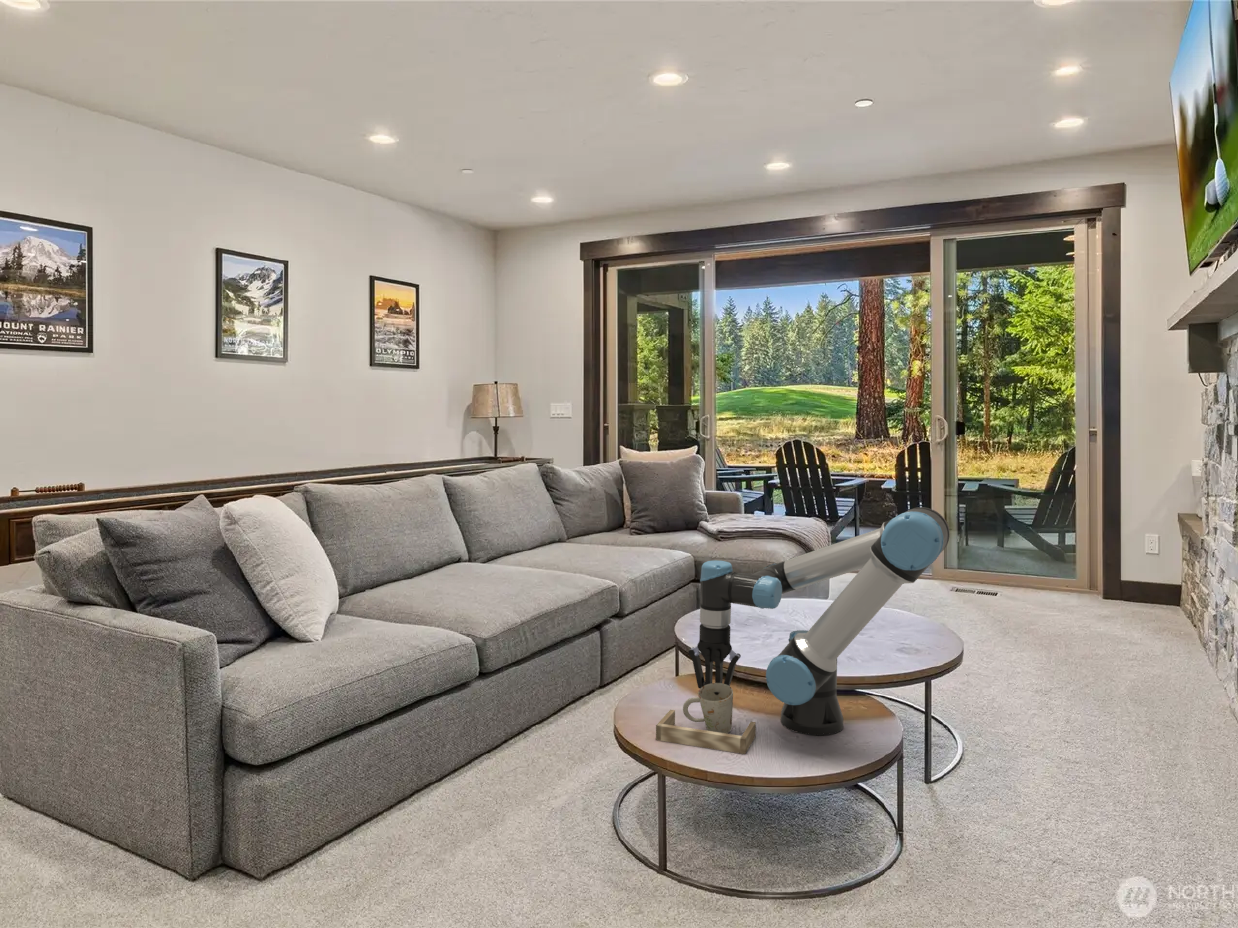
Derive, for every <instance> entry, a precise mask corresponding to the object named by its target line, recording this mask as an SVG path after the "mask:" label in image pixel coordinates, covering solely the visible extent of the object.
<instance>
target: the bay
mask: <svg viewBox="0 0 1238 928" xmlns="http://www.w3.org/2000/svg"><path fill="white" fill-rule="evenodd" d="M756 726H757V722H756V721H752V720H751V721H750V722H749V724H748V725H747V727H746V728H745V730H744V732H743V733H742V735H739V734H732V733H727V734H726V733H719V732H713V731H707V729H706V730H705V729H700V728H699V729H698V728H693V727H692V728H691V727H686V726H679V725H676V709H675V710H674V709H670V710H668V712H667V713H666V714H665V715H664V716H663V717H662V718H661V719H660V720H659V721H658V723H657V724H656V725H655V741H661V742H666V743H673V744H679V745H686V746H692V747H698V748H702V749H703V748H704V749H711V750H716V751H717V750H718V751H722V752H730V753H736V754H742V755H746V754H747V751H748V750H749V749H750V747H751V745H752V743H753V741H754V740H755V738H756V736H757V734H756V732H757V731H756V728H757V727H756Z"/></svg>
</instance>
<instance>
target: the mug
mask: <svg viewBox="0 0 1238 928" xmlns="http://www.w3.org/2000/svg"><path fill="white" fill-rule="evenodd" d="M714 692H718V693H719V694H718V695H715V694H714ZM697 695H698V696H697V697H696V696H695V697H690V698H688V699H686V700H685V701H684V703H683V706H682V713H683V715H684V716H685V718H686V719H687V720H689V721H691V722H694V723H703V722H705V727H706V731H713V732H719V733H726V734H729V733H730V732H731V730H732V729H733V708H734V707H733V705H734V690H733V688H732V687H731V685H730V686H728V685H726V684H724V682H722V683H715V682H712V683H711V684H707V685H705V686H703V687H702V688H700V689H699V690H698V693H697ZM693 703H699V704H700V708H701V711H702V715H703V717H701V718H696V717H693V716H692V715H691V714H690V713H689V707H690V705H691V704H693Z"/></svg>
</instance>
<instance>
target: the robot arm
mask: <svg viewBox="0 0 1238 928" xmlns="http://www.w3.org/2000/svg"><path fill="white" fill-rule="evenodd" d="M949 527H950V526H949V524H948V522H947V521H946V519H945V517H944V516H943V515H942V514H940V513H939V512H938V511H936V510H935V509H932V508H929V507H926V506H925V507H924V506H920V507H919V506H918V507H914V508H911V509H908V510H906V511H905V512H902V513H900V514H897V515H896V516H895V517H893V518H892V519H889V520H886V521H885V522H883V523H882V525H881V527H880V528H877V529H874V530H871V531H868V532H864V533H862V534H859V535H856V536H854V537H851V538H850V537H849V538H848V539H845V540H842V541H838V542H837V543H836V542H835V543H833V544H830V545H827V546H824V547H822V548H818V549H816V550H813V551H810V552H806V553H804V554H801V555H799V556H798V555H797V556H795V557H793V558H789V559H786V560H784V561H780V562H778V563H772V564H770V565H767V566H765V567H764V568H762V569H760V570H758V571H756V572H754V573H742V572H737V571H734V569H733V564H732V563H731V562H729V561H725V560H715V559H714V560H707V561H705V562H704V563H702V565H701V571H700V579H699V582H700V604H699V605H700V606H699V623H700V625H699V638H698V639H699V640H698V643H697V645H696V646H695V647H691V648H690V649H689V650H688V655H689V657H690V659H691V661H692V666H693V670H694V674H695V680H696V683H697V684H696V685H697V687H698V689H699V690H700V688H702V687H703V686H705V685H707V684H711V683H713V670H714V668H715V671H714V673H715V674H714V675H715V676H714V677H715V678H714V679H715V680H714V683H723V684H726V685H728V686H730V687H731V682H732V680H733V675H734V674H735V673H734V672H735V668H736V666H737V662H738V661H739V660H740V658H741V654H740V653H738V652H735V651H734V650H733V646H732V645H731V626H730V624H731V619H732V604H734V605H741V606H748V607H753V608H760V609H761V610H762V609H768V610H769V609H770V610H773V609H776V608H777V607H778V606H779V605H780V603H781V600H782V595H783V594H786V593H787V594H788V593H790V592H792V591H795V590H798V589H801V588H804V587H807V586H810V585H814V584H817V583H820V582H824V581H828V580H830V579H833V578H836V577H840V576H842V575H846V574H849V573H851V572H855V571H858V572H857V574H855V576H854V577H853V578H852V579H851V580H850V581H849V583H847V584H846V586H845V587H844V588H843V590H842V591H841V592H840V593H839V595H837V597H836V598H835V599H834V600H833V602H832V603H831V604H830V605H829V606H827V609H826V610H825V611H824V612H823V613H822V615H820V617H819V618H818V619H817V620H816V621H815V622H814V624H813V625H811V627H810V628H809V629H808V630H805V629H802V630H800V629H799V630H792V631H791V632H789V638H788V644H787V645H786V646H785V647H784V648H783V649H782V651H781V652H780V653H779V654H778V655H777V656H775V657H773V658H772V659H771V660H770V662H769V663H768V666H767V668H766V671H765V681H766V684H767V687H768V689H769V691H770V693H771V694H772V695H773V697H775V698H776V699H777V700H779V701H780V702H782V703H783V706H782V708H781V711H780V723H781V725H782V726H783V727H785V728H786V729H788V730H790V731H793V732H795V733H799V734H804V735H810V736H827V735H828V736H829V735H833V734H837V733H839V732H840V731H842V730H843V729H844V715H843V712H842V709H841V706H840V703H839V699H838V694H837V688H838V687H837V685H838V658H839V657H840V655H841V654H842V653H843V652H844V651H845V649H847V648H848V646H849V645H850V644H851V643H852V642H853V641H854V640H855V638H857V636H858V635H859V634H860V633H861V632H862V631H863V629H864V628H866V626H867V625H868V624H869V623H870V622H871V621H872V619H873V618H874V617H875V616H876V615H877V614H878V613H879V611H880V610H881V609H882V608H883V607H884V606H885V605H886V604H887V602H889V600H890V599H891V598H892V597H893V596H894V594H895V593H896V592H897V591H898V590H899V589H900V588H901V587H902V585H903V584H914V583H915V582H916V581H918V579H919V578H920V576H921V575H923V573H924V572H925V571H926V570H927V568H928V567H930V566H931V565H932V564H933V563H934V562H935V561H936V560H937V559H938V557H940V554H941V553H943V551H944V550H945V549H946V548H947V546H948V544H949V542H950V536H951V533H950V531H951V530H950V528H949ZM700 654H701V656H702V657H703V659H704V665H705V666H704V667H705V668H704V669H705V670H703V666H702V661H701V657H700ZM728 656H729V657H728ZM727 657H728V659H729V661H730V662H729V665H728V666H727V671H726V674H725V679H724V682H723V678H724V677H723V676H724V675H723V673H724V672H723V671H724V670H723V669H724V660H726V658H727ZM713 665H714V666H713ZM713 667H714V668H713ZM704 671H705V673H704ZM714 694H715V695H718V694H719V693H718V692H714Z"/></svg>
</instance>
